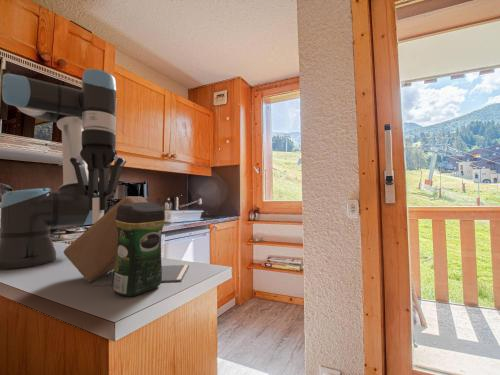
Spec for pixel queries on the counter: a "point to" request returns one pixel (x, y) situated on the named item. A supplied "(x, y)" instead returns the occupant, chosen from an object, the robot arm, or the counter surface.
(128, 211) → the coffee jar
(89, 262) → the wooden block
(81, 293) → the counter surface
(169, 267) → the gray book
